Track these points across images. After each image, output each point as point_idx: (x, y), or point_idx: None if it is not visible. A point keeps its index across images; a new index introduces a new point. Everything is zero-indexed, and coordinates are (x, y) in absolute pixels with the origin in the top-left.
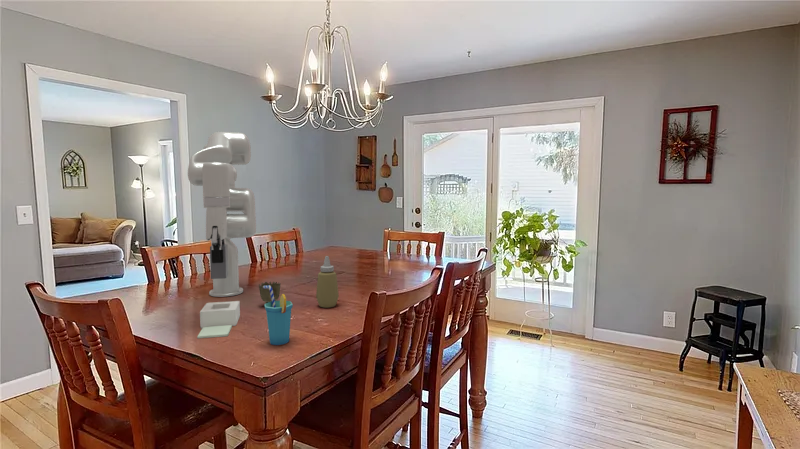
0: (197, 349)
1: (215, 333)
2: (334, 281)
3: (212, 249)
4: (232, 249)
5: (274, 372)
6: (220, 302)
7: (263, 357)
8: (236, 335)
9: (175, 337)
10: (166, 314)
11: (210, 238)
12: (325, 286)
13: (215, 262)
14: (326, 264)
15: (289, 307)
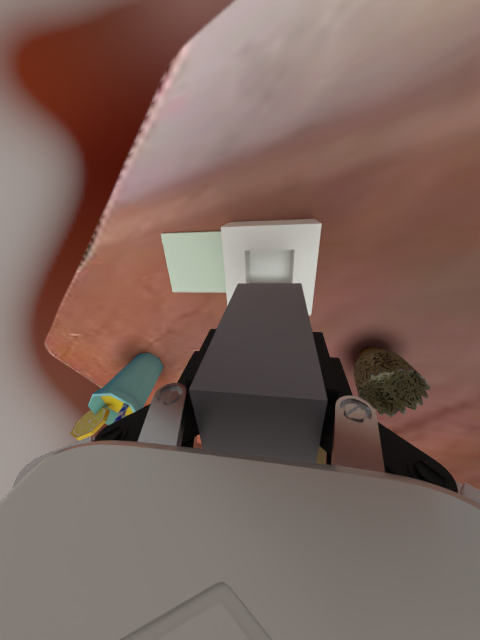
0: (109, 248)
1: (176, 268)
2: None
3: (161, 392)
4: None
5: (57, 356)
6: (312, 266)
7: (94, 346)
8: (177, 304)
9: (170, 175)
10: (425, 27)
11: (301, 461)
12: None
13: None
14: None
15: (109, 421)
